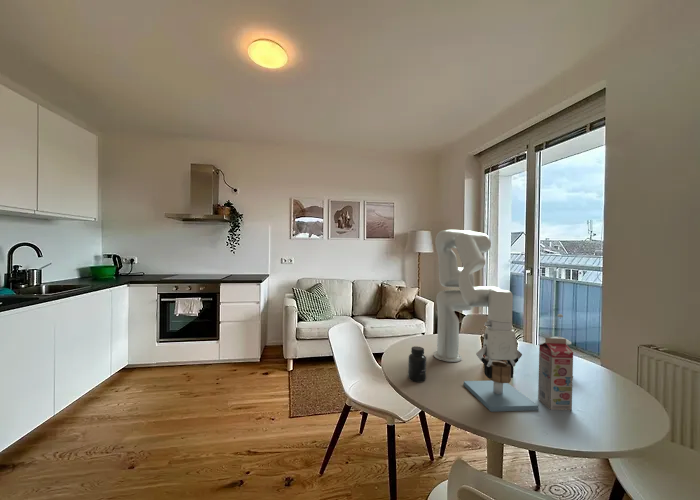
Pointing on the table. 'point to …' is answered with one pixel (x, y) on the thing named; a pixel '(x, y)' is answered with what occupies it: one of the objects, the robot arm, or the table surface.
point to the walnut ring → (500, 372)
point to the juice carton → (555, 374)
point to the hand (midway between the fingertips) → (498, 376)
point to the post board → (500, 396)
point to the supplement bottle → (417, 365)
